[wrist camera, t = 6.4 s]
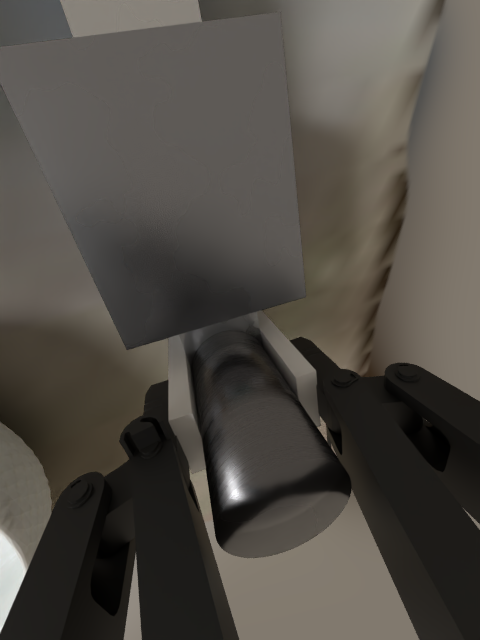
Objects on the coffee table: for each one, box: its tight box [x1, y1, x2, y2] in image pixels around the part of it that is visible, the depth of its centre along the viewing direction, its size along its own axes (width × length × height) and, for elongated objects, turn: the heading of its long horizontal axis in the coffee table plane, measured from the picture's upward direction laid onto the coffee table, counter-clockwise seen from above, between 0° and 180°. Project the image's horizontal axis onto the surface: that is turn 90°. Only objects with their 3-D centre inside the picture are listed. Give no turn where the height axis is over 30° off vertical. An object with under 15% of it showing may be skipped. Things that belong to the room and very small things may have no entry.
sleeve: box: [0, 12, 306, 350], centre depth 11 cm, size 7×8×6 cm
